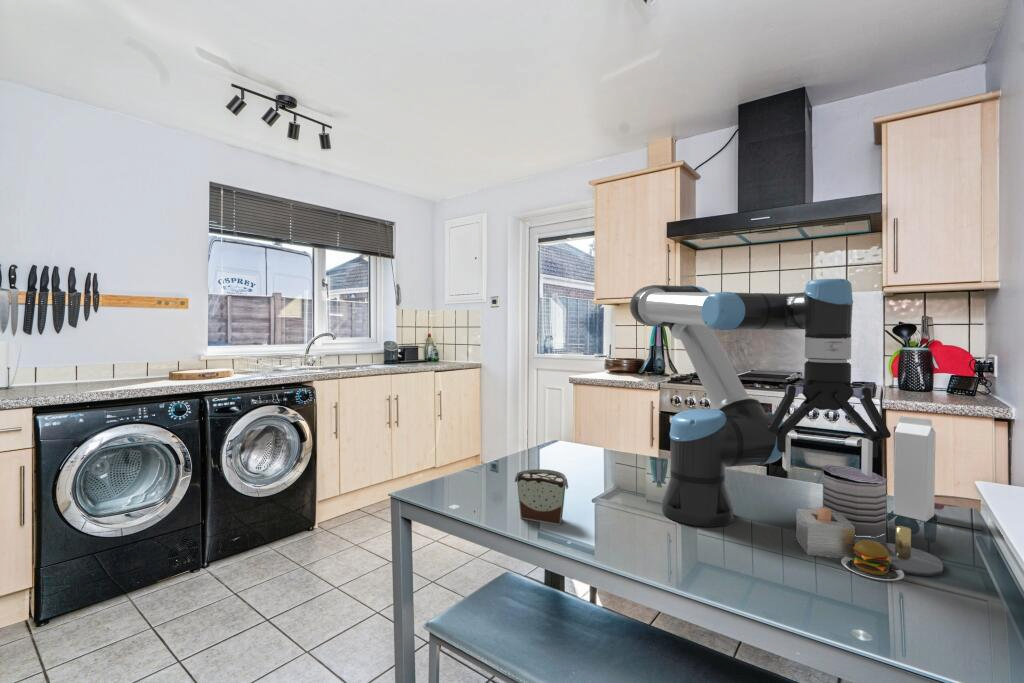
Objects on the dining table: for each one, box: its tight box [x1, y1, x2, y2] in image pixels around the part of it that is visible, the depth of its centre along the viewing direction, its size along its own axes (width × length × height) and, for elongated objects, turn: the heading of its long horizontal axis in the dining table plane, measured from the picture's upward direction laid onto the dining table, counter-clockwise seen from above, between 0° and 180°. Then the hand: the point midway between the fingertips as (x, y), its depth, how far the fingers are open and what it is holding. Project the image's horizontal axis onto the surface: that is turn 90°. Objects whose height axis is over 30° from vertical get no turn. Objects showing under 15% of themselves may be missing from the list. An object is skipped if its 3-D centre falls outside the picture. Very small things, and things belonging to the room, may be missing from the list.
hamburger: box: [840, 539, 905, 581], centre depth 87 cm, size 12×12×6 cm
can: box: [820, 464, 889, 537], centre depth 106 cm, size 11×11×12 cm
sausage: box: [817, 507, 831, 521], centre depth 95 cm, size 2×2×8 cm
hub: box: [879, 525, 944, 577], centre depth 90 cm, size 11×11×6 cm
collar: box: [795, 508, 856, 559], centre depth 95 cm, size 8×8×6 cm
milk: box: [893, 415, 937, 522], centre depth 112 cm, size 6×6×22 cm
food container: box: [514, 468, 569, 526], centre depth 112 cm, size 12×6×10 cm, turn 65°
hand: (825, 471), depth 95 cm, fingers open, 13 cm apart
